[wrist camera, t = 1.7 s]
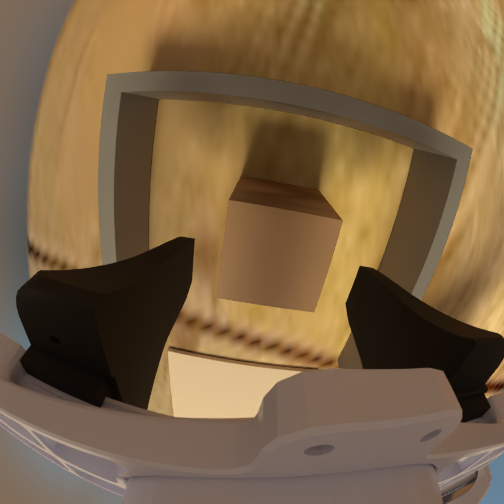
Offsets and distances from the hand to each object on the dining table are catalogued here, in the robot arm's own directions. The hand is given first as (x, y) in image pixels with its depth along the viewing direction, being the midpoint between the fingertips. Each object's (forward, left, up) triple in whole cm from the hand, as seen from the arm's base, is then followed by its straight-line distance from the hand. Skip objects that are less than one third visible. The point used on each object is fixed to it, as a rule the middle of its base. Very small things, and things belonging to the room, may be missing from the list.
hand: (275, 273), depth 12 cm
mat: (0, +22, -7) cm, 23 cm away
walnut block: (0, 0, -7) cm, 7 cm away
